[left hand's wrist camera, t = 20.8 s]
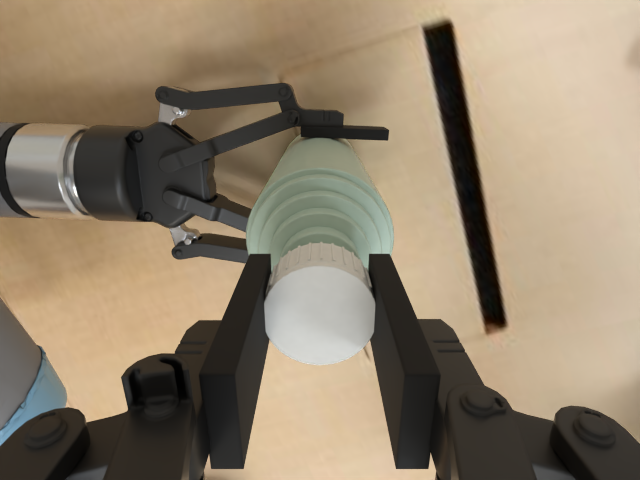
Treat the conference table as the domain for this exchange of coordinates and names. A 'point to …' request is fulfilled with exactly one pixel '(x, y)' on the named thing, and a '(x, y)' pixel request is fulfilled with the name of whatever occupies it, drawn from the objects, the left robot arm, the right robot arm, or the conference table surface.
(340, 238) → the bottle
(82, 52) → the conference table surface
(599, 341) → the conference table surface
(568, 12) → the conference table surface
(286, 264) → the cap
